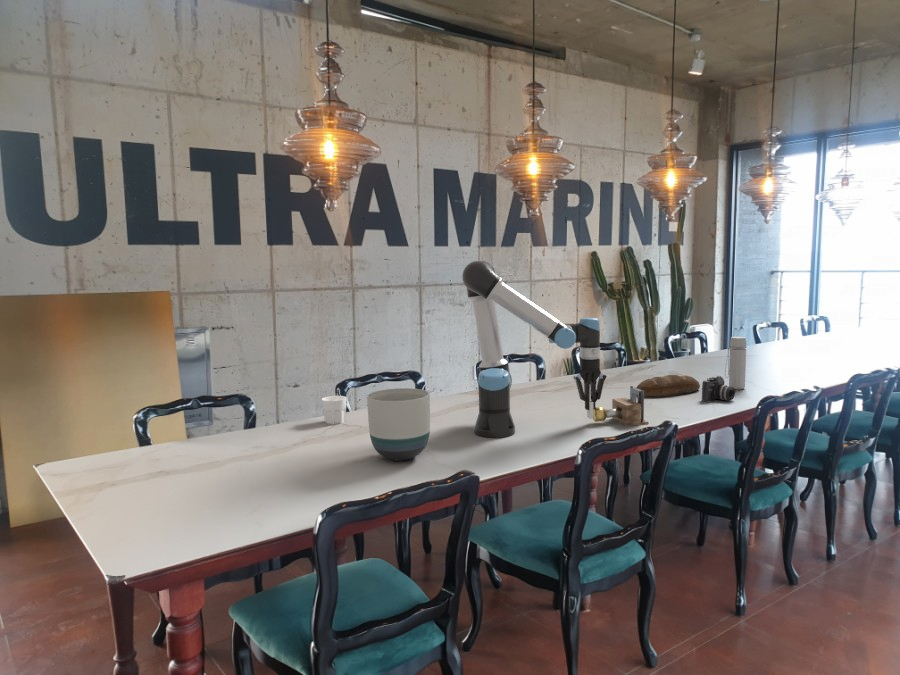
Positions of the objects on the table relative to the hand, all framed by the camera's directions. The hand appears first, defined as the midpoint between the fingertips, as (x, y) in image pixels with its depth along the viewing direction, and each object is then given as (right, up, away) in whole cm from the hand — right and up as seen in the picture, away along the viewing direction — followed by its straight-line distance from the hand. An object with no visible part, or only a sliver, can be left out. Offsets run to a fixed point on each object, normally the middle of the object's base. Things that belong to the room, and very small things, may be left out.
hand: (590, 417), depth 236 cm
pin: (+8, -1, +2) cm, 8 cm away
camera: (+66, +3, +36) cm, 76 cm away
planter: (-71, -9, -35) cm, 80 cm away
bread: (+50, +4, +54) cm, 74 cm away
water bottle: (+85, +6, +60) cm, 104 cm away
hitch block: (+17, -2, +4) cm, 17 cm away
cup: (-102, -4, +14) cm, 103 cm away
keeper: (+19, +4, +3) cm, 20 cm away
